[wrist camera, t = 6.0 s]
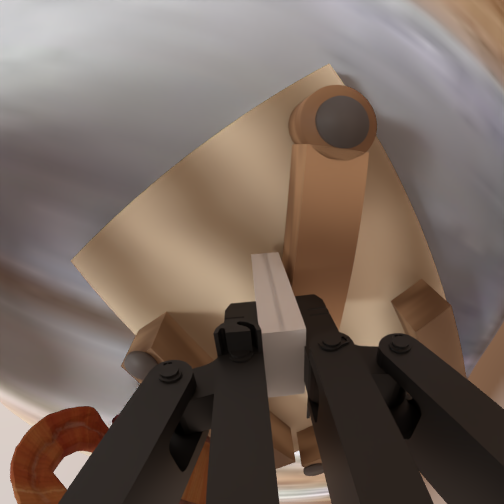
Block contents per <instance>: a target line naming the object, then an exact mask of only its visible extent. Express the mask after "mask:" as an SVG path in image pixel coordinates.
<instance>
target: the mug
mask: <svg viewBox="0 0 504 504" xmlns="http://www.w3.org/2000/svg"><path fill="white" fill-rule="evenodd" d="M117 417H118V415H116V416H115V417H114V418H113V420H112V424H113V423H114V421H115V420H116V418H117ZM108 430H109V428H108V427H107V426H106V424H105V423H104V422H103V420H102V418H101V417H100V415H99V413H98V412H97V411H96V410H95V409H94V408H93V407H89V406H84V407H74V408H68V409H64V410H61V411H58V412H55V413H52V414H49V415H47V416H46V417H44V418H43V419H41V420H40V421H39V422H38V423H36V424H35V425H34V426H33V427H31V428H30V430H29V431H28V432H27V433H26V434H25V435H24V436H23V438H22V440H21V441H20V443H19V444H18V445H17V447H16V448H15V452H14V455H13V458H12V461H11V468H10V479H11V480H10V481H11V483H12V486H13V491H14V495H15V498H16V500H17V503H18V504H58V503H59V501H60V500H61V498H62V497H63V495H64V494H65V492H66V491H67V489H66V488H65V487H64V485H63V484H62V483H61V482H60V481H59V479H58V478H57V477H56V476H55V475H54V473H53V472H54V470H55V469H56V467H57V466H58V464H59V463H60V462H61V460H62V459H63V458H64V457H65V456H67V455H70V454H72V453H74V452H76V451H88V452H92V453H93V451H94V450H95V448H96V447H97V446H98V444H99V443H100V441H101V440H102V438H103V437H104V435H105V434H106V433H107V431H108ZM209 449H210V437H209V436H207V438H206V441H205V443H204V446H203V448H202V451H201V453H200V455H199V458H198V460H197V463H196V465H195V467H194V470H193V472H192V474H191V477H190V479H189V481H188V484H187V486H186V488H185V491H184V493H183V495H182V498H181V500H180V502H179V504H206V492H207V477H208V463H209Z"/></svg>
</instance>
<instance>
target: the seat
mask: <svg viewBox="0 0 504 504" xmlns="http://www.w3.org/2000/svg"><path fill="white" fill-rule="evenodd" d="M329 85H343V86H345V85H344V83H343V82H342V81H341V79H340V78H339V76H338V75H337V73H336V72H335V71H334V69H333V68H332V67H331V65H330V64H328V65H326V66H324V67H322V68H320V69H318V70H316V71H315V72H313V73H311V74H309V75H307V76H306V77H304V78H302V79H300V80H299V81H297V82H295V83H294V84H292V85H290V86H289V87H287V88H285V89H284V90H282V91H280V92H279V93H277V94H275V95H274V96H272V97H271V98H269V99H267V100H266V101H264V102H263V103H261V104H260V105H258V106H256V107H255V108H253V109H252V110H250V111H249V112H247V113H246V114H244V115H243V116H241V117H240V118H238V119H237V120H235V121H234V122H233V123H231V124H230V125H228V126H227V127H225V128H224V129H223V130H221V131H220V132H218V133H217V134H216V135H214V136H213V137H211V138H210V139H209V140H207V141H206V142H205V143H203V144H202V145H201V146H199V147H198V148H197V149H195V150H194V151H193V152H191V153H190V154H189V155H187V156H186V157H185V158H184V159H182V160H181V161H180V162H178V163H177V164H176V165H175V166H173V167H172V168H171V169H170V170H168V171H167V172H166V173H165V174H164V175H162V176H161V177H160V178H159V179H158V180H156V181H155V182H154V183H153V184H152V185H150V186H149V187H148V188H147V189H146V190H145V191H143V192H142V193H141V194H140V195H139V196H138V197H136V198H135V199H134V200H133V201H132V202H131V203H130V204H129V205H127V206H126V207H125V208H124V209H123V210H122V211H121V212H120V213H119V214H118V215H116V216H115V217H114V218H113V219H112V220H111V221H110V222H109V223H108V224H107V225H106V226H105V227H104V228H103V229H102V230H101V231H100V232H99V233H98V234H96V235H95V236H94V237H93V238H92V239H91V240H90V241H89V242H88V243H87V244H86V245H85V246H84V247H83V248H82V249H81V250H80V252H79V253H78V254H77V255H76V256H75V257H74V258H73V259H72V260H71V262H72V263H73V265H74V266H75V267H76V268H77V270H78V271H79V272H80V273H81V275H82V276H83V277H84V278H85V279H86V281H87V282H88V283H89V284H90V285H91V287H92V288H93V289H94V290H95V291H96V293H97V294H98V295H99V296H100V297H101V298H102V299H103V301H104V302H105V303H106V304H107V305H108V306H109V307H110V308H111V310H112V311H113V312H114V313H115V314H116V315H117V316H118V317H119V318H120V319H121V320H122V321H123V323H124V324H125V325H126V326H127V327H128V328H129V329H130V330H131V331H132V332H133V333H134V334H135V335H136V336H135V338H134V340H133V342H132V344H131V346H130V348H129V351H128V353H127V355H126V357H125V359H124V361H123V363H122V365H121V367H122V368H124V369H125V370H126V371H127V372H128V373H129V374H130V375H131V376H132V377H133V378H135V379H136V380H137V381H138V382H139V383H140V384H141V383H142V381H143V380H144V379H145V377H146V376H147V374H148V373H149V371H150V370H151V369H152V368H153V367H154V366H155V365H157V364H159V363H161V362H164V361H168V360H181V361H184V362H187V363H188V364H189V365H190V366H191V367H192V369H193V368H197V367H201V366H204V365H207V364H209V363H211V362H213V361H214V360H215V359H217V357H218V356H217V351H216V345H215V340H214V335H213V333H214V331H215V329H216V328H217V327H218V326H219V325H220V324H222V323H224V316H225V310H226V309H227V307H228V306H229V305H230V304H231V303H241V302H252V301H255V291H254V280H253V270H252V259H251V254H261V253H272V252H278V253H279V255H280V258H281V261H282V256H283V246H284V235H285V225H286V214H287V203H288V191H289V179H290V167H291V154H292V144H294V143H293V141H292V139H291V137H290V134H289V129H288V123H289V118H290V115H291V113H292V111H293V109H294V108H295V107H296V106H297V105H298V104H299V103H301V102H302V101H303V100H305V99H306V98H307V97H309V96H310V95H311V94H313V93H314V92H315V91H317V90H318V89H320V88H322V87H325V86H329ZM367 152H368V153H369V159H368V169H367V178H366V187H365V195H364V202H363V209H362V216H361V223H360V229H359V236H358V242H357V247H356V253H355V258H354V264H353V269H352V274H351V279H350V284H349V289H348V293H347V298H346V303H345V307H344V311H343V316H342V320H341V324H340V328H339V332H341V333H344V334H346V335H348V336H349V337H350V338H351V339H352V340H353V342H354V344H355V345H359V346H377V347H378V346H379V342H380V340H381V339H382V338H383V337H385V336H386V335H389V334H393V333H403V334H407V335H410V336H412V337H413V338H415V339H417V340H418V341H419V342H420V343H422V344H423V345H424V346H426V347H427V348H428V349H429V350H431V351H432V352H433V353H435V354H436V355H437V356H438V357H440V358H441V359H442V360H444V361H445V362H446V363H447V364H449V365H450V366H451V367H452V368H454V369H455V370H456V371H457V372H459V373H460V374H461V375H462V376H464V377H465V378H466V372H465V366H464V360H463V355H462V350H461V345H460V340H459V335H458V331H457V326H456V322H455V318H454V314H453V310H452V307H451V305H450V304H449V303H448V302H447V301H446V297H445V294H444V291H443V287H442V284H441V281H440V278H439V275H438V272H437V269H436V266H435V263H434V260H433V257H432V255H431V252H430V249H429V246H428V244H427V241H426V239H425V236H424V233H423V231H422V228H421V226H420V224H419V221H418V219H417V216H416V214H415V212H414V209H413V207H412V205H411V203H410V200H409V198H408V196H407V194H406V192H405V190H404V188H403V185H402V183H401V181H400V179H399V177H398V175H397V173H396V171H395V169H394V167H393V165H392V163H391V161H390V160H389V158H388V156H387V154H386V152H385V150H384V148H383V147H382V145H381V143H380V141H379V139H378V138H377V136H375V139H374V142H373V144H372V145H371V147H370V148H369V150H368V151H367ZM307 400H308V394H307V390H306V386H305V393H303V394H296V395H288V396H279V397H270V398H268V402H269V411H270V421H271V430H272V440H273V449H274V459H275V468H276V469H277V468H280V467H283V466H286V465H288V464H291V463H294V462H295V455H294V452H296V451H300V458H301V464H302V466H303V467H304V474H305V475H307V476H315V475H319V474H322V473H324V469H323V465H322V461H321V457H320V453H319V449H318V445H317V441H316V437H315V433H314V429H313V425H312V421H311V417H310V418H307ZM208 436H209V437H210V436H211V429H209V434H208Z"/></svg>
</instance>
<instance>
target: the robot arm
mask: <svg viewBox="0 0 504 504" xmlns="http://www.w3.org/2000/svg"><path fill="white" fill-rule="evenodd" d="M251 259H252V270H253V280H254V291H255V301H252V302H241V303H231V304H230V305H229V306H228V307H227V309H226V310H225V316H224V323H222V324H220V325H219V326H218V327H217V328H216V329H215V331H214V333H213V335H214V340H215V345H216V351H217V356H218V357H217V359H215V360H214V361H213V362H211V363H209V364H207V365H204V366H201V367H197V368H193V369H192V367H191V366H190V365H189V364H188V363H187V362H184V361H181V360H168V361H164V362H161V363H159V364H157V365H155V366H154V367H153V368H152V369H151V370H150V371H149V373H148V374H147V376H146V377H145V379H144V380H143V381H142V383H141V384H140V386H139V387H138V388H137V390H136V391H135V393H134V394H133V395H132V397H131V398H130V400H129V401H128V403H127V404H126V405H125V407H124V408H123V410H122V411H121V413H120V414H119V415H118V417H117V418H116V420H115V421H114V423H113V424H112V425H111V427H110V428H109V430H108V431H107V433H106V434H105V435H104V437H103V438H102V440H101V441H100V443H99V444H98V446H97V447H96V448H95V450H94V451H93V453H92V454H91V456H90V457H89V459H88V460H87V462H86V463H85V465H84V466H83V467H82V469H81V470H80V472H79V473H78V475H77V476H76V478H75V479H74V481H73V482H72V484H71V485H70V486H69V488H68V489H67V491H66V492H65V494H64V495H63V497H62V498H61V500H60V501H59V503H58V504H179V502H180V500H181V498H182V495H183V493H184V491H185V488H186V486H187V484H188V481H189V479H190V477H191V474H192V472H193V470H194V467H195V465H196V463H197V460H198V458H199V455H200V453H201V451H202V448H203V446H204V443H205V441H206V438H207V436H208V434H209V429H211V436H210V449H209V463H208V477H207V492H206V504H279V496H278V487H277V477H276V468H275V459H274V449H273V440H272V430H271V421H270V411H269V402H268V398H270V397H279V396H288V395H296V394H303V393H305V386H306V390H307V394H308V400H307V418H310V417H311V421H312V425H313V429H314V433H315V437H316V441H317V445H318V449H319V453H320V457H321V461H322V465H323V469H324V474H325V478H326V482H327V486H328V490H329V494H330V499H331V503H332V504H433V501H432V499H431V497H430V494H429V492H428V490H427V488H426V485H425V483H424V481H423V479H422V477H421V474H422V475H423V476H424V477H425V478H426V480H427V481H428V482H429V483H430V484H431V485H432V487H433V488H434V489H435V490H436V491H437V492H438V494H439V495H440V496H441V497H442V498H443V499H444V501H445V502H446V503H447V504H504V409H502V407H500V406H499V405H498V404H497V403H496V402H494V401H493V400H492V399H491V398H489V397H488V396H487V395H486V394H485V393H483V392H482V391H481V390H480V389H479V388H477V387H476V386H475V385H474V384H472V383H471V382H470V381H469V380H467V379H466V378H465V377H464V376H462V375H461V374H460V373H459V372H457V371H456V370H455V369H454V368H452V367H451V366H450V365H449V364H447V363H446V362H445V361H444V360H442V359H441V358H440V357H438V356H437V355H436V354H435V353H433V352H432V351H431V350H429V349H428V348H427V347H426V346H424V345H423V344H422V343H420V342H419V341H418V340H417V339H415V338H413V337H412V336H410V335H407V334H403V333H393V334H389V335H386V336H385V337H383V338H382V339H381V340H380V342H379V346H378V347H377V346H359V345H355V344H354V342H353V340H352V339H351V338H350V337H349V336H348V335H346V334H344V333H341V332H339V330H338V328H337V326H336V324H335V323H334V321H333V319H332V317H331V315H330V314H329V311H328V309H327V308H326V305H325V303H324V301H323V299H321V298H320V297H318V296H317V295H315V294H310V295H302V296H294V293H293V291H292V288H291V285H290V282H289V280H288V277H287V274H286V271H285V269H284V266H283V263H282V261H281V258H280V255H279V253H278V252H272V253H261V254H251ZM419 471H420V472H419ZM420 473H421V474H420Z"/></svg>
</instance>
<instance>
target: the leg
mask: <svg viewBox="0 0 504 504" xmlns="http://www.w3.org/2000/svg"><path fill="white" fill-rule="evenodd" d="M288 129H289V134H290V137H291V139H292V141H293V143H294V144H292V154H291V167H290V179H289V191H288V203H287V214H286V225H285V235H284V246H283V256H282V263H283V266H284V269H285V271H286V274H287V277H288V280H289V282H290V285H291V288H292V291H293V293H294V296H302V295H310V294H315V295H317V296H318V297H320V298H321V299H323V301H324V303H325V305H326V308H327V309H328V311H329V314H330V315H331V317H332V319H333V321H334V323H335V324H336V326H337V328H338V330H339V328H340V324H341V320H342V316H343V311H344V307H345V303H346V298H347V293H348V289H349V284H350V279H351V274H352V269H353V264H354V258H355V253H356V247H357V242H358V236H359V229H360V223H361V216H362V209H363V202H364V195H365V187H366V178H367V169H368V159H369V153H368V152H367V151H368V150H369V148H370V147H371V145H372V144H373V142H374V139H375V136H376V131H377V122H376V116H375V113H374V110H373V108H372V106H371V105H370V103H369V102H368V100H367V99H366V98H365V97H364V96H363V95H362V94H361V93H359V92H358V91H356V90H354V89H352V88H350V87H347V86H343V85H329V86H325V87H322V88H320V89H318V90H317V91H315V92H314V93H313V94H311V95H310V96H309V97H307V98H306V99H305V100H303V101H302V102H301V103H299V104H298V105H297V106H296V107H295V108H294V109H293V111H292V113H291V115H290V118H289V123H288Z"/></svg>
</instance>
